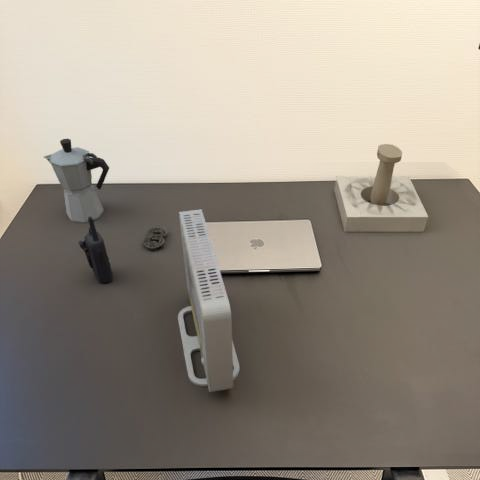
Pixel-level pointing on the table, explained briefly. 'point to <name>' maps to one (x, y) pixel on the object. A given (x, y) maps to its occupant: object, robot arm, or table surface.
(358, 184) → the square block with hole
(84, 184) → the coffee maker
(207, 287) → the network device
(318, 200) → the table surface
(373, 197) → the handle
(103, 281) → the two-way radio
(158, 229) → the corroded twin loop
